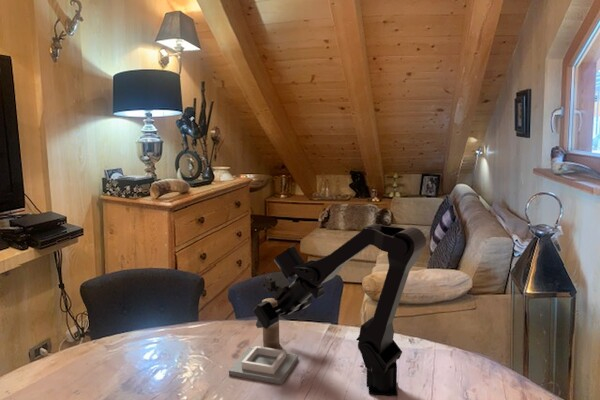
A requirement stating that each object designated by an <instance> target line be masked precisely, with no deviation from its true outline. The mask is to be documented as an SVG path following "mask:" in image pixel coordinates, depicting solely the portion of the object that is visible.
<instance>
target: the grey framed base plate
mask: <svg viewBox="0 0 600 400" xmlns="http://www.w3.org/2000/svg"><path fill="white" fill-rule="evenodd" d="M298 361H299V355H297V354H293V353H287V351H286V350H284V349H279V348H275V349H273V348H267V347H264V346H259V345H255V346H254V347H248V349H247V350H246V351H245V352H244V353H243V354H242V355H241V356H240V357H239V358H238V359H237V361H236V362H235V363H234V364H233V365H232V366H231V367H230V368H229V370H228V376H233V377H238V378H243V379H249V380H255V381H260V382H267V383H271V384H277V385H283V383H284V382H285V380H286V379H287V377H288V376H289V374H290V372H291V371H292V370H293V368H294V366H295V365H296V363H297V362H298Z"/></svg>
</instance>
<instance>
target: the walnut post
mask: <svg viewBox="0 0 600 400" xmlns="http://www.w3.org/2000/svg"><path fill="white" fill-rule="evenodd" d="M264 301H268V302H270V303H271V305H272V306H273V308H274V307H276V306H278V305H277V300H276V301H275V299H274V298H273V297H270V298H269V297H268V298H265V299H262V300H261V303H262V302H264ZM277 312H278V311H277ZM280 340H281V339H280V320H279V321H278V322H277V323H276V324H275V325H273V326H271V327H269V328H267V329H266V328H264V327H263V328H262V344H263V345H262V347H267V348H273V349H279V347H280V345H281V344H280V342H281V341H280Z"/></svg>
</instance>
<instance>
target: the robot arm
mask: <svg viewBox="0 0 600 400" xmlns="http://www.w3.org/2000/svg"><path fill="white" fill-rule="evenodd" d="M426 244H427V237H426V236H425V234H424V232H423V231H422V230H421V229H419V228H418V227H414V226H413V227H412V226H411V227H410V226H409V227H408V228H407V227H406V228H405V227H402V226H401V227H399V226H389V225H385V224H384V225H383V224H380V223H379V224H378V223H372V224H369V225H367V226H364V227H363V228H362V229H361V231H359V232H358V233H357V234H355V235H354V236H353V237H352V238H350V239H349V240H347V241H346V242H344V243H343V244H342V245H341V246H339V247H338V248H337V249H335V250H334V251H333V252H331V253H330V254H328V255H326V256H323V257H321V258H319V259H317V260H316V259H310V260H307V261H306V262H305V260H303V258H302V256H301V255H300V253H299V252H298V251H297V248H296V247H295V246H294V245H292V246H290V247H288V248H287V249H285V250H283V252H281V253H280V254H278V255H276V256H275V257H274V258H273V261H274V263H275V264H276V266H277V267H278V268H279V270H280V271H281V273H282V274H281V273H280V272H274V273H271V274H269V275H267V277H265V279H263V280H262V285H261V286H262V288H263V289H264V290H265V291H266V292H267V293H272V294H274V295H273V297H272V298H274V299H275V301H276V300H277V305H278V306H276V307H274V308H273V306H272V305H271V303H270V302H268V301H264V302H262V301H261V303H258V304H256V306H254V308H253V313H254V315H255V316H256V317H257V321H256V323H255V326H256V328H257V329H263V327H264V328H266V329H267V328H269V327H271V326H273V325H275V324H276V323H277V322H278V321H279V322H280V317H282V316H288V315H291V314H293V313H297V312H300V311H302V310H304V309H306V308H307V307H309V306H310V305H311V304H312V302H313V301H312V300H313V299H312V297H311V296H313V298H314V299H315V300H317V299H319V298H321V297H322V296H324V295H325V290H324V285H323V284H324V283H326V282H328V281H330V280H332V279H334V278H335V276H336V275H338V273H339V272H340V271H341V270H342V268H343V267H344V266H345V264H347V263H348V262H349V261H351V260H352V259H354V258H355V257H357V256H358V255H359V254H361V253H362V252H363V251H366V249H368V248H370V247H371V246H374V247H375V248H377V249H378V250H380V251H381V252H382V251H383V252H385V253H387V261H388V269H387V272H386V275H385V279H384V281H383V286H382V288H381V292H380V294H379V297H378V298H379V299H378V301H377V304H376V308H375V311H374V314H373V316H372V317H371V318H370V319H368V320H366V321H365V322H364V323H362V324H361V326H360V329H359V334H358V337H356V341H357V349H358V351H359V352H360V354H361V357H362V361H363V364H364V366H365V367H364V368H366V387H367V388H368V395H380V396H392V397H395V396H398V393H399V392H398V386H397V385H398V383H397V380H398V379H397V378H398V376H397V375H398V365H397V361H398V360H400V358H401V356H402V355H403V350H401V347H399V346H398V344H397V343H396V341H395V340H394V334H395V331H394V330H395V329H394V325H393V324H394V323H393V322H394V319H395V316H396V314H397V310H398V307H399V304H400V300H401V298H402V295H403V292H404V289H405V285H406V283H407V281H408V277H409V274H410V271H411V269H413V267H414V265H415V264H416V262H417V261H418V260H419V258H420V256H421V255H422V253H423V251H424V250H425V248H426ZM296 277H297V278H296ZM289 278H290V279H291V280H293V281H292V282H290V281H289ZM294 279H295V280H294ZM277 311H278V312H277Z"/></svg>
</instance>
